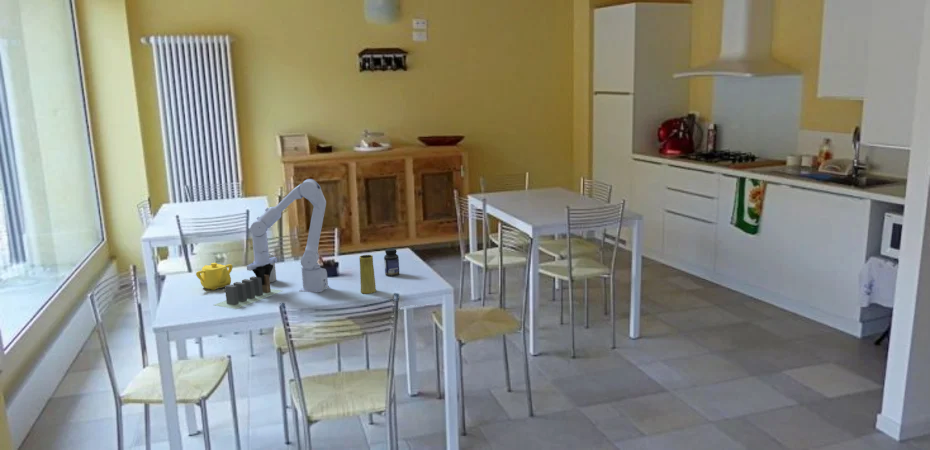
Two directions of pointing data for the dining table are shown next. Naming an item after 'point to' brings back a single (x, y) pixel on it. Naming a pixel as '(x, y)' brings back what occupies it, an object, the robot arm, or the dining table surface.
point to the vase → (367, 274)
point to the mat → (248, 300)
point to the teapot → (215, 276)
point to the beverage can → (273, 272)
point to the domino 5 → (266, 284)
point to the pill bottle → (391, 262)
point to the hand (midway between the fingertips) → (264, 283)
